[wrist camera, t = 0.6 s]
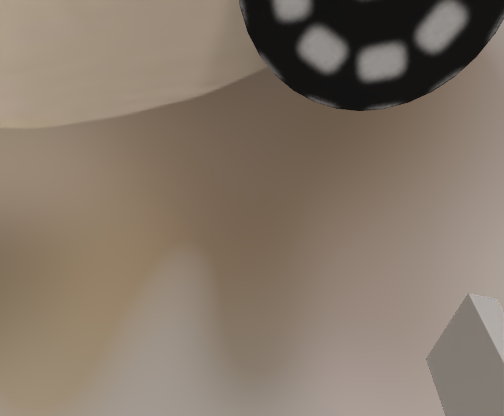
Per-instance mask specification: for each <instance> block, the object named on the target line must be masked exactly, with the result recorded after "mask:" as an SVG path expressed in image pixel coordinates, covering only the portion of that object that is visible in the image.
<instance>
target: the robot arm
mask: <svg viewBox="0 0 504 416" xmlns="http://www.w3.org/2000/svg"><path fill="white" fill-rule="evenodd" d="M426 360H427V363H428V366H429V369H430V371H431V374H432V377H433V380H434V383H435V386H436V389H437V392H438V395H439V398H440V400H441V404H442V407H443V410H444V412H445V415H446V416H504V311H503V309H502V307H501V306H500V304H499V302H498V301H497V299H496V298H494V297H488V296H482V295H476V294H470V293H468V295H467V296H466V298H465V299H464V301H463V302H462V304H461V305H460V307H459V309H458V310H457V312H456V313H455V315H454V316H453V318H452V319H451V321H450V322H449V324H448V326H447V327H446V329H445V330H444V332H443V333H442V335H441V336H440V338H439V339H438V341H437V343H436V344H435V346H434V347H433V349H432V350H431V352H430V354H429V355H428V357H427V358H426Z"/></svg>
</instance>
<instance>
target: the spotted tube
mask: <svg viewBox="0 0 504 416" xmlns="http://www.w3.org/2000/svg"><path fill="white" fill-rule="evenodd" d="M239 3H240V8H241V11H242V15H243V18H244V21H245V25H246V28H247V32H248V34H249V36H250V38H251V39H252V41H253V43H254V45H255V47H256V49H257V51H258V53H259V55H260V56H261V58H262V59H263V60H264V61H265V63H266V64H267V65H268V67H269V68H270V69H271V70H272V72H273V73H274V74H275V75H276V76H277V77H278V78H279V79H281V80H282V81H283V82H284V83H285V84H287V85H288V86H289V87H290V88H291V89H293V90H294V91H296V92H297V93H299V94H301V95H303V96H305V97H306V98H308V99H310V100H312V101H314V102H317V103H320V104H323V105H327V106H330V107H333V108H336V109H346V110H355V111H365V110H377V109H385V108H389V107H393V106H397V105H401V104H404V103H408V102H410V101H413V100H414V99H417V98H419V97H421V96H424V95H426V94H428V93H430V92H432V91H434V90H435V89H437V88H438V87H440V86H441V85H443V84H444V83H446V82H447V81H449V80H450V79H452V78H453V77H455V76H456V75H457V74H458V73H459V72H460V71H461V70H462V69H464V68H465V67H466V66H467V65H468V64H469V63H470V62H471V61H472V60H473V59H475V58H476V57H477V55H478V54H479V53H480V52H481V50H482V49H483V48H484V47H485V46H486V44H487V43H488V42H489V41H490V39H491V38H492V37H493V36H494V34H495V33H496V31H497V30H498V28H499V26H500V24H501V23H502V21H503V19H504V0H239Z"/></svg>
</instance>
